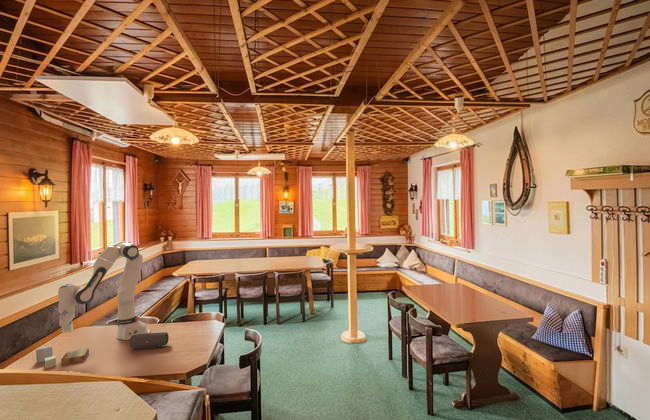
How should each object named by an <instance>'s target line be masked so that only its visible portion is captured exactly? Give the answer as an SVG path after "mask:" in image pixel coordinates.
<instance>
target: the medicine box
mask: <svg viewBox="0 0 650 420" xmlns="http://www.w3.org/2000/svg"><path fill="white" fill-rule="evenodd" d="M35 355H36V356H35V357H36V358H35V359H36V364H41V363H45V358H48V357H52V356H54V355H53V345H52V344H50V345H46V346H40V347H37V348H36V349H35Z"/></svg>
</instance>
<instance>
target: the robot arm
mask: <svg viewBox="0 0 650 420" xmlns="http://www.w3.org/2000/svg"><path fill="white" fill-rule="evenodd" d="M120 257H122V258H125V259H126V262H125V266H124V268H123V272H122V274H121V279H120V284H119V287H118V288H117V290H116V292H117V295H116V296H117V334H116V339H118V340H122V341H127V340H130V338H131V336H132V335H137V334H146V333H151V329H150V328H148V327H147V325H146V323H145V322H143V321H141V320H139V315H136V309H135V308H136V307H135V306H136V305H135V295H136V289H137V285H138V281H139V278H140V277H139V276H140V274H141V270H142V266H143V261H144V260H143V259H144V256H143V255H142V254H141V253H140V250H139V247H138V246H137V245H136V244H133V243H131V242H125V241H122V242H118V243H117V244H115V245H108V246H106V247H105V248H104V249H103V250H102V251H101V252H100V253H99V255H98V256H97V258H96V260H95V262H94V263H93V270H92V271H93V274H92V275H91V277H90V279H89V281H88V282H87V284H86V285H85V286H82V285H81V286H80V285H75V284H73V283H67V284H64V285H61V286H60V287H59V288H58V290H57V301H58V304H57V305H58V313H59V314H60V315H59V323H58V324H59V327H60V328H62V327H64V331H67V330H68V323H70V322H73V319H74V318H75V317H76V307H77V304H79V305H86V304H87V305H88V304H89V303H91V302H92V301H93V299H94V297H95V292H96V290H97V288H98V286H99V285H100V283H101V282H102V280H103V279H104V277H105V276H106V275H107V273H108V272H109V271H110V270H111V268H112V266H113V265H114V264H115V263H116V261H117V260H118V259H119V258H120ZM76 303H77V304H76Z"/></svg>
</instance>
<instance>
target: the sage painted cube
mask: <svg viewBox="0 0 650 420" xmlns="http://www.w3.org/2000/svg"><path fill="white" fill-rule="evenodd" d="M53 366H54V367H57V358H56V355H53V356H52V357H48V358H45V362H44V367H46V368H47V369H50V368H53ZM49 367H50V368H49ZM46 368H45V369H46Z"/></svg>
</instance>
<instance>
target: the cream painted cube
mask: <svg viewBox="0 0 650 420" xmlns="http://www.w3.org/2000/svg"><path fill="white" fill-rule="evenodd" d="M73 331H74V321H72V322H70V323H68V330H67V331H64V327H61V333H62V334H65V333H66V334H67V333H72V332H73Z"/></svg>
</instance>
